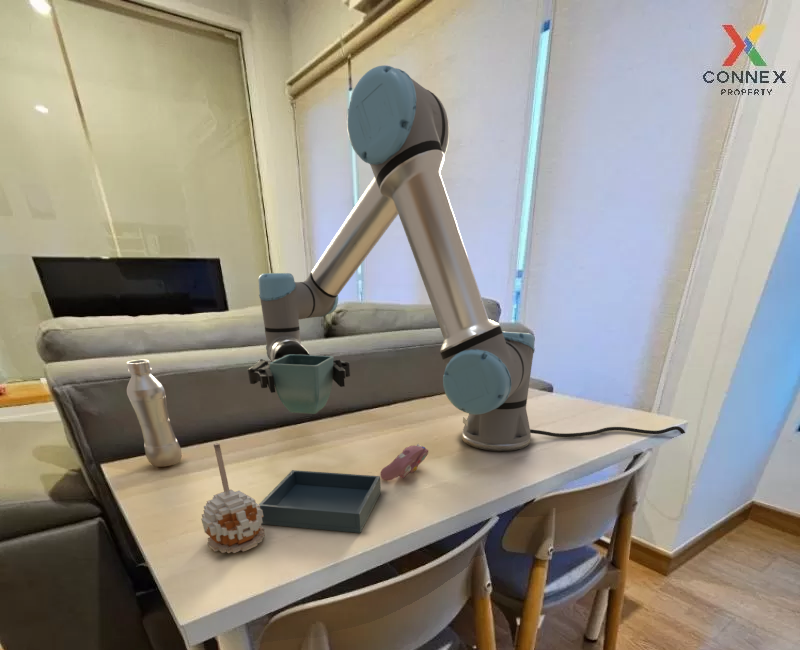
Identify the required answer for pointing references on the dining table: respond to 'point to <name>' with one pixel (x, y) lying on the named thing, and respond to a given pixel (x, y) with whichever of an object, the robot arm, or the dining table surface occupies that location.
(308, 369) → the flower pot
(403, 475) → the pink elongated piece
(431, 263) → the robot arm
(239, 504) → the decorative ornament
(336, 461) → the dining table surface
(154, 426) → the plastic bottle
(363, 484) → the tray
